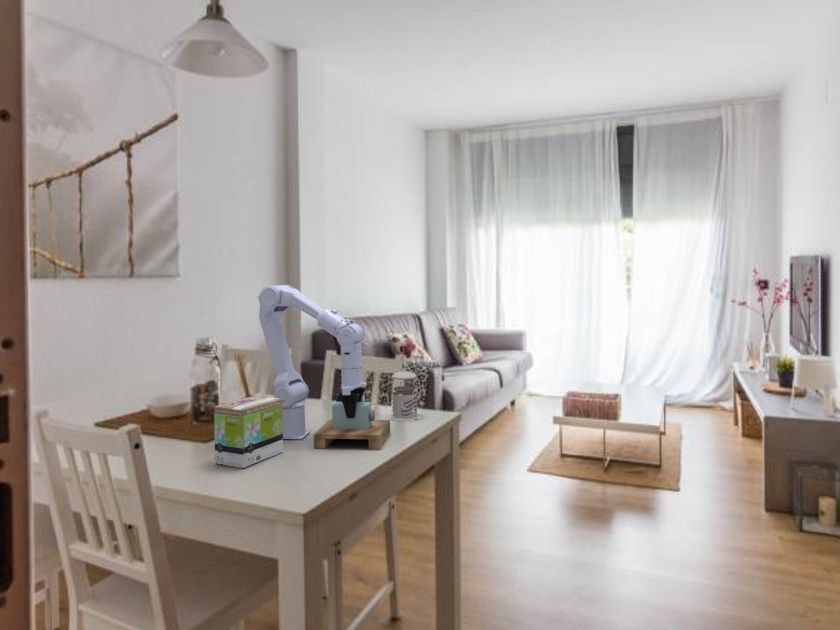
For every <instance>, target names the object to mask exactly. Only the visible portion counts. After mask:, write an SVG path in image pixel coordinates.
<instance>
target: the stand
mask: <svg viewBox="0 0 840 630" xmlns="http://www.w3.org/2000/svg"><path fill="white" fill-rule="evenodd" d="M389 434H390V435H391V419H375V420H374V421H372V425H371V426H370V428H369V429H333V421H332V419H329V420H328V421H326V422H325V423H324V424H323V425H322V426H321V427H320V428H318V430H316V431H315V432H314V433H313V449H316V450H319V449H320V450H321V449H322V450H325V449H327V448H328V446H329V445H330V444H332V442H333V441H334V440H335V439H336V440H337V439H338V440H368V450H369V449H380V448H382V447H383V446H384V444H385V443H386V441H387V440H388V439H389V437H390V435H389ZM386 439H387V440H386ZM384 442H385V443H384ZM382 445H383V446H382ZM380 450H381V449H380Z"/></svg>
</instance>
